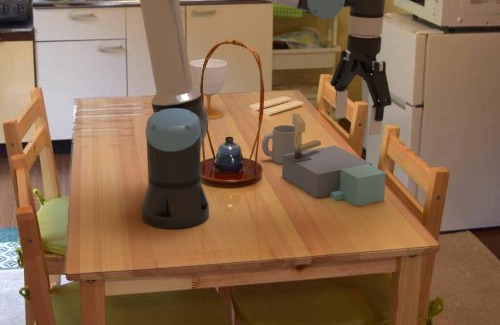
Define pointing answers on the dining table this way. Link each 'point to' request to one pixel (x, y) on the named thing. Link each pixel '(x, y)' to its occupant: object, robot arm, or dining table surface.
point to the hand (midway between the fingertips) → (357, 125)
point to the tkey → (298, 145)
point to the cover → (361, 185)
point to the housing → (319, 169)
